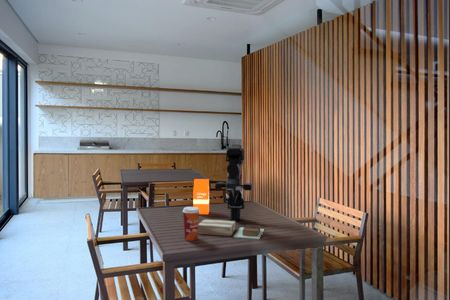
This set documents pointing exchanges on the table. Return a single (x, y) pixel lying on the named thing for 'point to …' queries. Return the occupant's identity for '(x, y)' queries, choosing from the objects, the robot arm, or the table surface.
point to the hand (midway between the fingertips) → (233, 203)
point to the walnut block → (251, 230)
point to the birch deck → (216, 227)
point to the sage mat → (240, 235)
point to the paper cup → (191, 223)
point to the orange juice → (201, 195)
